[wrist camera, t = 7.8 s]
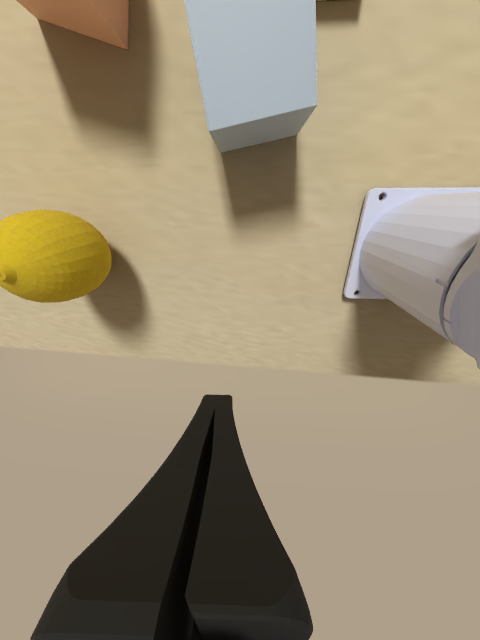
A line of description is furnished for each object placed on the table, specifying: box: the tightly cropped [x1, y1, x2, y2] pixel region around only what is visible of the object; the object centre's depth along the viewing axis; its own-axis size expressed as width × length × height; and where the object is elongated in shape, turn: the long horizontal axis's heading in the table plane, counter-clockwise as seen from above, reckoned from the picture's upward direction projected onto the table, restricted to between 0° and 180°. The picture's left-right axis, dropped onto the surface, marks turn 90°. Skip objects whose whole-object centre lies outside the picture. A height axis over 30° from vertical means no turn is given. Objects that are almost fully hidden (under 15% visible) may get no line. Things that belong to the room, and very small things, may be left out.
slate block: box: [184, 0, 317, 153], centre depth 11 cm, size 5×5×5 cm
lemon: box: [0, 210, 112, 302], centre depth 14 cm, size 6×6×8 cm
